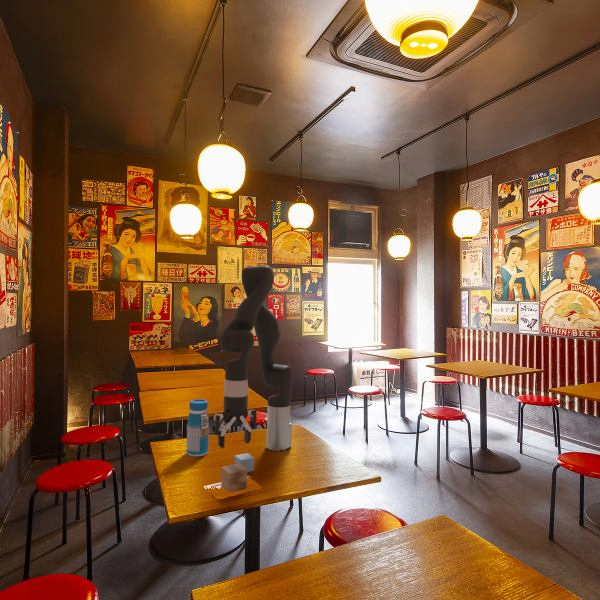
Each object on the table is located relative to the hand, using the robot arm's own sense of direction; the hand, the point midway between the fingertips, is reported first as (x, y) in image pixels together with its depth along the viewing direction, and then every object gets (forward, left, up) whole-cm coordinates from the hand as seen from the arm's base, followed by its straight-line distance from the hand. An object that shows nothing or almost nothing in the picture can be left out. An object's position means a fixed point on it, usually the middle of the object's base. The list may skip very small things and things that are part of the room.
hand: (234, 445), depth 134 cm
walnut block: (0, 0, -13) cm, 13 cm away
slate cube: (-9, -11, -14) cm, 20 cm away
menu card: (0, 0, -14) cm, 14 cm away
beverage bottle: (-1, -35, -14) cm, 38 cm away
